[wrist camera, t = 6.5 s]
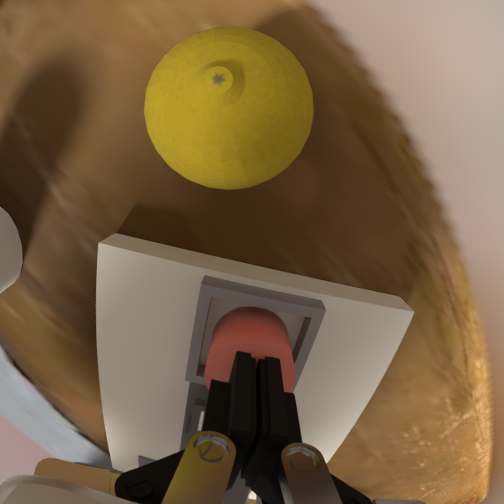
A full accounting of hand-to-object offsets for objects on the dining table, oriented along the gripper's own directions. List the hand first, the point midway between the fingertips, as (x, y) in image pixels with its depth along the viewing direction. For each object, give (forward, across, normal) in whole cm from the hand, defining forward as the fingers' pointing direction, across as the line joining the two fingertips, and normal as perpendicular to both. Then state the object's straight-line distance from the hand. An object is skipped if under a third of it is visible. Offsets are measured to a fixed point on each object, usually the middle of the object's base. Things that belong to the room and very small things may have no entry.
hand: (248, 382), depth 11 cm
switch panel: (+5, 0, +7) cm, 9 cm away
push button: (+3, 0, 0) cm, 3 cm away
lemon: (+5, +3, -10) cm, 11 cm away
